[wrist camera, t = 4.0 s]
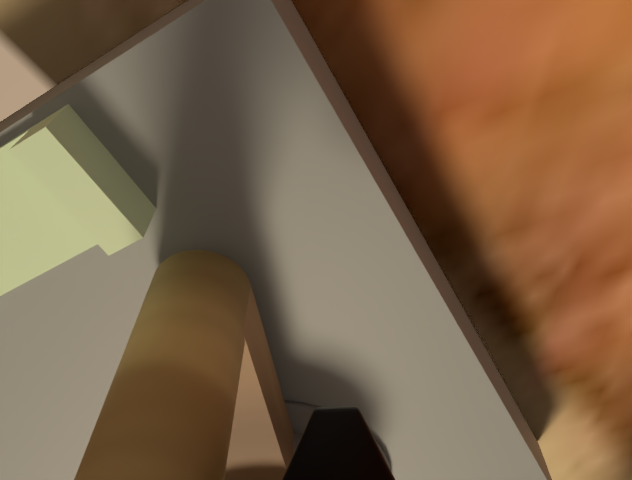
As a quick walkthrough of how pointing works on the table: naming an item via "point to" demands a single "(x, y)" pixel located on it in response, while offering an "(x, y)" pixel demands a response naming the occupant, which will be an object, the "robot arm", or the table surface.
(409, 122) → the table surface
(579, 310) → the table surface
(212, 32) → the stand base
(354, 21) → the table surface
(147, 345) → the cam lever
